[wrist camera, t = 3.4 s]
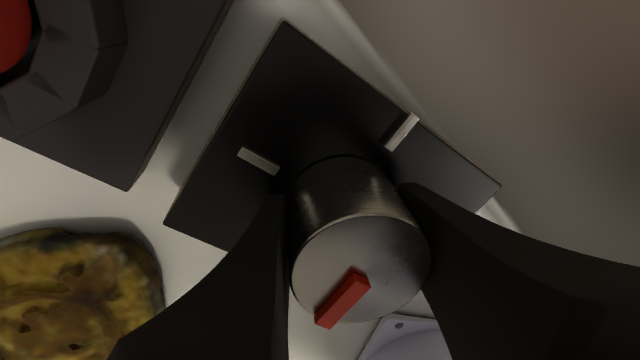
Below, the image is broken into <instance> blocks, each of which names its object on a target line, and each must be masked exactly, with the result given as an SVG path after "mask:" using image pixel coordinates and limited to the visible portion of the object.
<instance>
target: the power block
mask: <svg viewBox="0 0 640 360" xmlns="http://www.w3.org/2000/svg"><path fill="white" fill-rule="evenodd" d="M233 1H234V0H28V2H29V7H30V12H31V20H32V30H31V37H30V42H29V45H28V47H27V49H26V52H25V53H24V55H23V56H22V58H21V59H20V60H19V61H18V62H17V63H16V64H15V65H14V66H13V67H11V68H10V69H8V70H7V71H4V72H2V73H0V137H2V138H4V139H7V140H9V141H11V142H13V143H16V144H18V145H20V146H23V147H25V148H27V149H29V150H32V151H34V152H36V153H38V154H41V155H43V156H45V157H48V158H50V159H52V160H54V161H57V162H59V163H61V164H63V165H66V166H68V167H70V168H73V169H75V170H77V171H79V172H82V173H84V174H86V175H88V176H91V177H93V178H95V179H97V180H100V181H102V182H104V183H107V184H109V185H111V186H113V187H116V188H118V189H120V190H122V191H125V192H127V191H129V190H130V188H131V187H132V186H133V184H134V183H135V182H136V181H137V179H138V178H139V177H140V176H141V174H142V173H143V172H144V170H145V168H146V166H147V164H148V162H149V161H150V159H151V157H152V155H153V153H154V151H155V149H156V147H157V145H158V144H159V142H160V140H161V138H162V136H163V134H164V132H165V130H166V128H167V127H168V125H169V123H170V121H171V119H172V117H173V115H174V113H175V111H176V109H177V108H178V106H179V104H180V102H181V100H182V98H183V96H184V94H185V92H186V91H187V89H188V87H189V85H190V83H191V81H192V79H193V77H194V75H195V73H196V72H197V70H198V68H199V66H200V64H201V62H202V60H203V58H204V56H205V55H206V53H207V51H208V49H209V47H210V45H211V43H212V41H213V39H214V37H215V36H216V34H217V32H218V30H219V28H220V26H221V24H222V22H223V20H224V19H225V17H226V15H227V13H228V11H229V9H230V7H231V5H232V3H233Z"/></svg>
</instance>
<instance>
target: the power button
mask: <svg viewBox="0 0 640 360" xmlns="http://www.w3.org/2000/svg"><path fill="white" fill-rule="evenodd" d="M31 30H32V20H31V12H30V7H29V2H28V0H0V73H2V72H4V71H7V70H8V69H10V68H11V67H13V66H14V65H15V64H16V63H17V62H18V61H19V60H20V59H21V58H22V56H23V55H24V53H25V52H26V49H27V47H28V45H29V42H30V37H31Z"/></svg>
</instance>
